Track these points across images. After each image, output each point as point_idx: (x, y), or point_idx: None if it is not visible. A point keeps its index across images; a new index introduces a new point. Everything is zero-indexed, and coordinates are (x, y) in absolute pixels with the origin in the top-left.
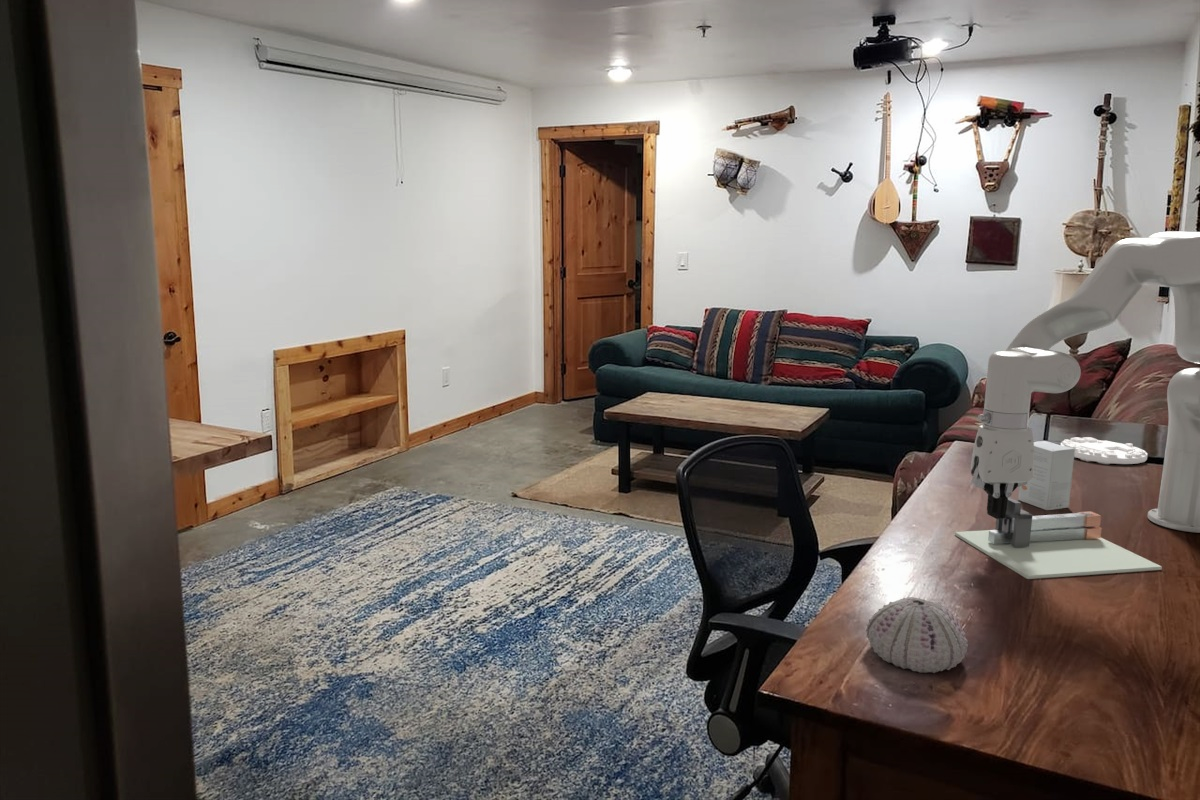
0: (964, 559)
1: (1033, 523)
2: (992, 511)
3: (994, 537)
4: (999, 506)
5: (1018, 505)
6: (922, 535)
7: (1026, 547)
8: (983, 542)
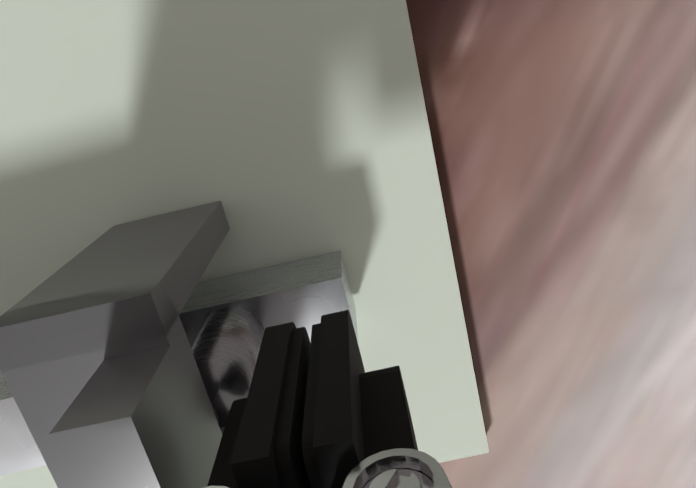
0: (620, 23)
1: (3, 383)
2: (391, 370)
3: (340, 267)
4: (338, 376)
5: (96, 408)
6: (676, 422)
7: None
8: (386, 295)
